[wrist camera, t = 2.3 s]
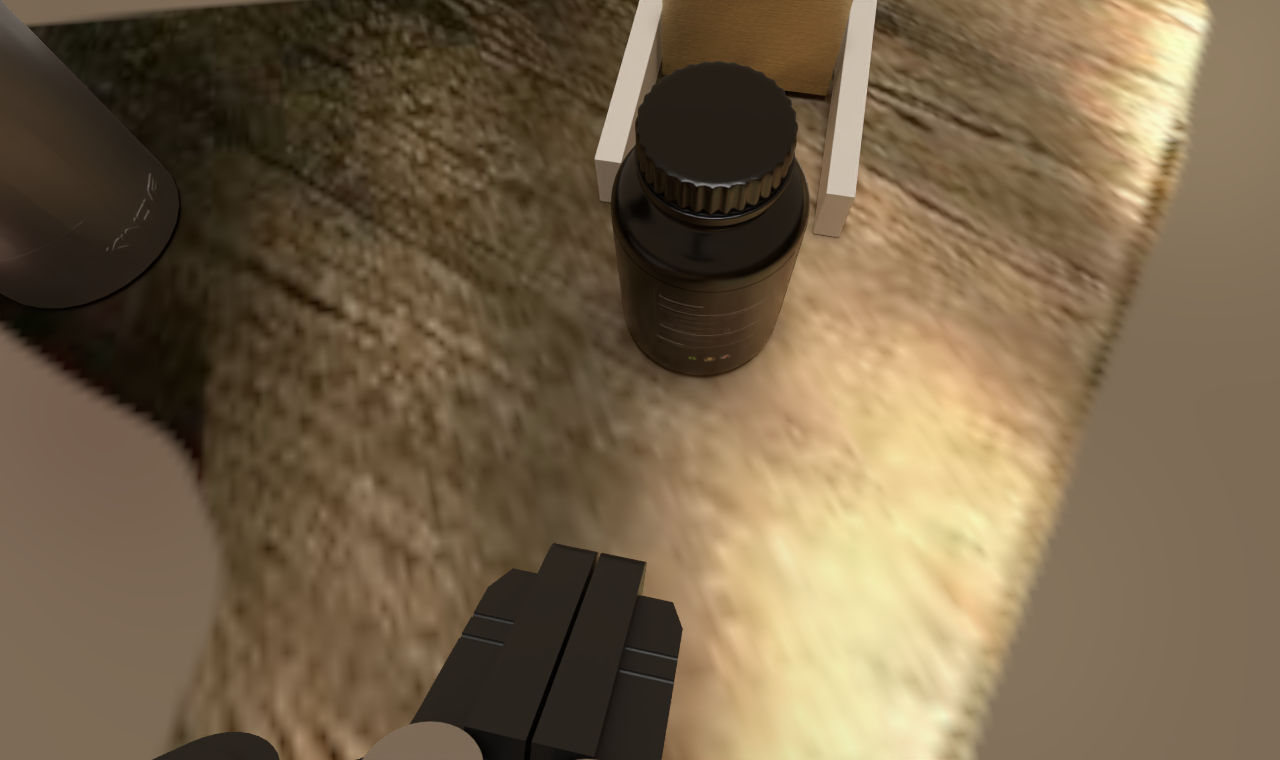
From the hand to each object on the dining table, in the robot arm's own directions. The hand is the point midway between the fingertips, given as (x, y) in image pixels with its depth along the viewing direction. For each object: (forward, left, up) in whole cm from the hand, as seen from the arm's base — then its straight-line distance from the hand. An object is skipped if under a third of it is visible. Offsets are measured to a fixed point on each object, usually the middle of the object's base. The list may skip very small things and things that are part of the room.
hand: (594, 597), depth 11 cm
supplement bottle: (0, +14, -17) cm, 22 cm away
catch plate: (0, +28, -16) cm, 32 cm away
